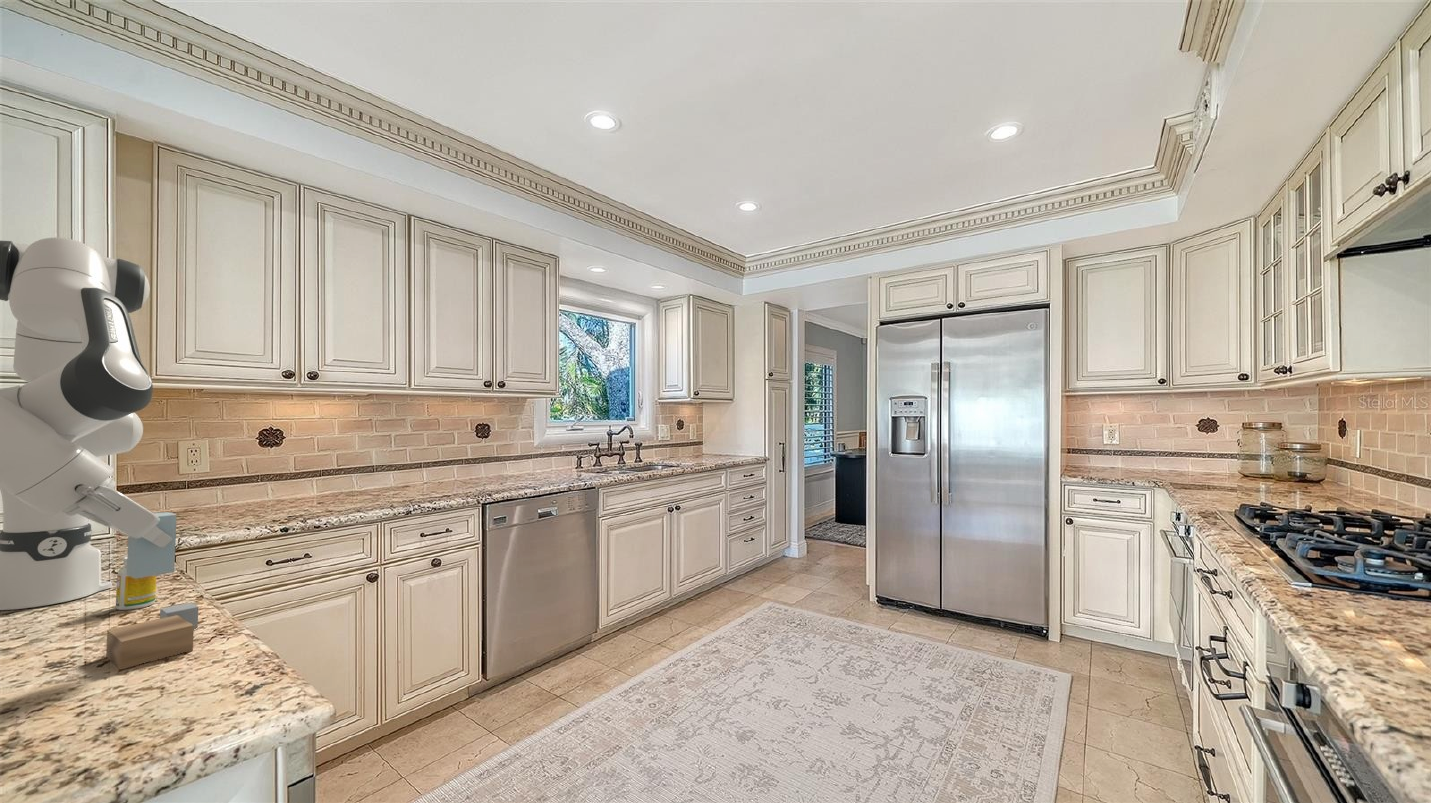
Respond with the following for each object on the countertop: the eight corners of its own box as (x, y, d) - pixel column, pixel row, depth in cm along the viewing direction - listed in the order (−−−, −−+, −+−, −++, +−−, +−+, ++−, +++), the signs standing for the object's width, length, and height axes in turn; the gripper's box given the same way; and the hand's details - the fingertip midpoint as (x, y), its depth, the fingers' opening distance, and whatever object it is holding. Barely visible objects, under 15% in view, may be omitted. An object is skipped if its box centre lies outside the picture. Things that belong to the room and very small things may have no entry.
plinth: (106, 656, 86) (107, 630, 86) (176, 639, 93) (177, 615, 93) (120, 669, 82) (121, 641, 82) (192, 650, 89) (193, 625, 89)
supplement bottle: (107, 610, 106) (109, 559, 106) (136, 601, 111) (138, 552, 112) (135, 610, 106) (137, 559, 106) (163, 601, 111) (165, 553, 112)
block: (159, 632, 96) (160, 608, 96) (190, 625, 100) (191, 602, 100) (165, 637, 94) (167, 613, 94) (197, 630, 97) (198, 606, 98)
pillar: (126, 574, 87) (129, 515, 87) (165, 568, 90) (167, 512, 91) (134, 578, 84) (137, 518, 85) (174, 572, 88) (176, 514, 88)
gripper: (112, 471, 77) (202, 531, 85) (77, 463, 88) (160, 517, 96) (61, 508, 73) (160, 567, 81) (31, 495, 84) (121, 549, 92)
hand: (160, 540), depth 88 cm, fingers closed on pillar, 4 cm apart
